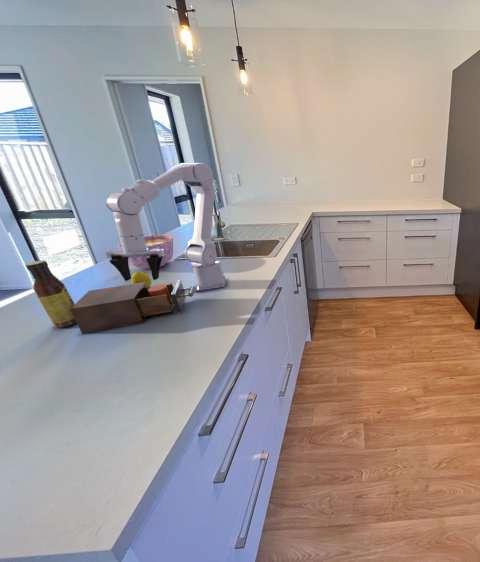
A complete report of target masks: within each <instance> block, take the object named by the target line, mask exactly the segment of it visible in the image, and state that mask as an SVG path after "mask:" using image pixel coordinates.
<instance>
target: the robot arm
mask: <svg viewBox="0 0 480 562" xmlns="http://www.w3.org/2000/svg"><path fill="white" fill-rule="evenodd" d="M213 180H214V172H213V171H212V170H211V168H210V167H209V166H208V165H207V164H206V163H204V162H196V163H194V162H193V163H192V162H191V163H189V162H187V163H186V162H181V163H179V164H177V165H174V166H172V168H170V169H168V170H167V171H165V172H164V173H162V174H160V175H159V176H157V177H155V178H154V179H153V180H148V179H137V180H135V184H133V185H131V186H128V187H123V188H122V189H121V192H114V193H111V194H110V195H109V196H108V198H107V200H106V202H105V207H106V208H107V209H108V210H109V212H111V213H112V214H113V218H114V221H115V222H114V223H115V225H116V229H117V233H118V238H119V241H120V243H121V245H122V249H109V250H106V251H105V255H106V258H107V259H109V263H110V264H111V265H112V266H113V267H115V269H116V270H117V271H118V272H119V273H120V275H121V276H122V278H123V280H124V281H125V282H128V281H130V280H131V277H132V274H131V271H130V265H129V264H130V263H129V261H128V257H140V256H150V257H149V258H147V259H146V261H147V262H148V264H149V267H150V269H149V270H150V274H151V277H152V278H151V279H152V280H153V281H157V280H158V279H159V278H160V268H161V267H160V264H161V261H162V259H163V256H164V255H165V253H164V249H151V248H147V247H146V242H145V238H144V237H145V234H144V229H143V226H142V221H141V217H140V213H141V211H142V209H143V207H144V206H146V205H148V204H149V203H151V202H152V201H155V200H156V199H158V198H159V197H160V196H161V191H162V190H165V189H166V188H169V187H171V186H173V185H175V184H177V183H179V182H180V181H181V182H183V183H184V184H186V185H187V186H188V187H190V188H192V189H193V191H194V192H195V193H196V201H195V202H196V203H195V211H194V212H195V213H194V224H193V236H192V237H191V238H190V239H189V240H188V241H187V246H186V247H185V250H184V257H185V259H186V260H187V261H188V262H190V265H192V269H193V272H194V276H195V279H196V283H197V286H196V288H195V291H196V292H200V291H207V290H212V289H218V288H224V287H225V286H226V275H225V273H224V269H223V265H222V262H221V261H217V259H218V253H217V249H216V248H217V245H216V243H215V242H214V241H213V240H212V239H211V238H212V228H213V227H212V226H213V217H214V205H215V194H216V192H215V191H216V190H215V186H214V183H213V182H214V181H213Z"/></svg>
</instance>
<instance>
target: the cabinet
mask: <svg viewBox="0 0 480 562" xmlns="http://www.w3.org/2000/svg"><path fill="white" fill-rule="evenodd" d="M144 287H147V286H146V284H145V282H144V283H137V284H132V283H131V284H123V285H118V286H110V287H103V288H98V289H89V290H88V291H87V292H86V293H85V294H84V295H83V296H82V297H81V298H80V299H79V300H78V301H76V303H74V304H75V305H74V306H72V307H71V308H70V310H71V312H72V314H73V316H74V318H75V320H76V322H77V323H76V324H77V326H78V328H79V330H80V333H81V335H83V334H88V333H89V334H90V333H94V332H101V331H106V330H111V329H116V328H121V327H127V326H131V325H136V324H142V323H144V322H145V320H146V318H147V316H144V317H142V315H141V313H140V310H139V308H138V305H137V303H136V298H137V297H138V295H139V294H140V292H141V291H142V290H143V288H144Z"/></svg>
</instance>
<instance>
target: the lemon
mask: <svg viewBox="0 0 480 562" xmlns="http://www.w3.org/2000/svg"><path fill="white" fill-rule="evenodd" d="M130 280H131V284H137V283H144V282H145V284H146V286H147V287H149V286H152V280H151V277H150V276H149V275H148V273H147V272H144V271H139V270H136V272H134V273H133V274H131V279H130Z"/></svg>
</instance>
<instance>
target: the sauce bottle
mask: <svg viewBox="0 0 480 562" xmlns="http://www.w3.org/2000/svg"><path fill="white" fill-rule="evenodd" d="M25 267H26V269H27V270H28V271H29V272H30V274H31V276H32V278H33V279H34V282H33V285H32V289H33V291H34V293H35V295H36V296H37V299H38V300H39V303H40V304H41V306H42V307H43V309H44V311H45V313H46V314H47V316H48V318H49V320H50V321H51V323H52V324H53V325H54V327H55V328H59V329H62V328H68V327H71V326H73V325H76V324H77V322H76V320H75V318H74V316H73V314H72V312H71V310H70V308H71V307H72V306H74V305H75V304H76V303H75V302H74V300H73V298H72V296H71V294H70V293H69V291H68V289H67V286H66V285H65V284H64V282H63V281H61V280H60V279H59V278H58V277H56V276H55V274H53V272H52V271H51V269H50V267H49V264H48V262H47V260H44V259H42V260H35V261H31V262H28V263H26V264H25Z"/></svg>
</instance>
